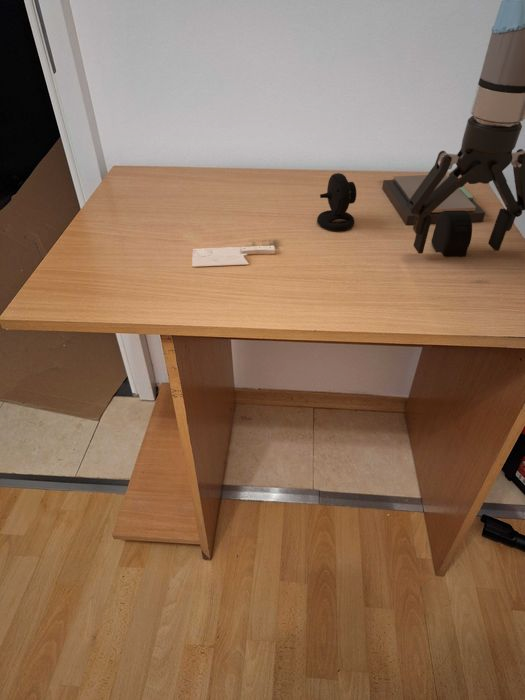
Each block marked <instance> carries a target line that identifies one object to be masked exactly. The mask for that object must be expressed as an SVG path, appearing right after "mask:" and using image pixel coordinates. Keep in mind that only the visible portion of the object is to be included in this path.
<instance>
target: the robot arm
mask: <svg viewBox="0 0 525 700" xmlns="http://www.w3.org/2000/svg"><path fill="white" fill-rule="evenodd" d="M480 72H481V73H480V75H479V79H478V83H477V86H476V89H475V92H474V97H473V101H472V103H471V106H470V115H471V116H470V117H469V118H468V119H467V121H466V126H465V129H464V133H463V136H462V139H461V140H462V141H461V147H460V150H459V151H458V152H457V154H455V153H447V152H446V150H441V151H439V153H438V154H437V157H436V160H435V163H434V165H433V167H431V169H430V171H429V172H428V174H426V175H427V176H426V178H425V179H424V180H423V182H422V183H421V185H420V186H419V187H418V189H417V190H416V192H415V193H414V194H413V196H412V197H411V198H410V200H409V201H408V203H407V207H408V209H409V210H410V212H411V213H412V214H416V217H415V221H414V225H412V229H413V231H414V233H415V238H414V242H413V247H414V249H415V251H416V252H417V253H418V254H419V255H420V254H423V253H424V250H425V247H426V242H427V238H428V235H429V230H430V227H431V224H430V223H431V219H432V218H431V217H430V215H429V214H430V213H431V212H432V211H433V210H434V209H436V208H437V207H438V206H439V205H440V204H441V203H442V202H443V201H444V200H446V199H447V198H448V197H449V196H450V195H451V194H452V193H453V192H454V191H456V190H457V189H458V188H461V187H465V185H466V184H469V185H476V184H479V183H480V184H484V185H485V184H487V185H489V184H490V182H493V184H494V187H495V189H496V191H497V193H498V194H499V196H500V198H501V200H502V202H503V204H504V206H505V208H499V211H498V214H497V217H496V220H495V223H494V225H493V228H492V231H491V234H490V237H489V239H488V242H487V243H488V245H489V246H490V248H492V249H493V251H495V252H499V251H500V249H501V247H502V244H503V241H504V238H505V236H506V233H507V232H510V231H511V230H512V228H513V225H514V223H515V220H516V218H519V217H521V216H522V215H523V211H525V150H524V149H523V148H519V149H517V150H516V151H515V152H513V151H514V150H515V148H516V147H517V142H518V140H519V137H520V134H521V131H522V129H523V125H522V122H523V121H524V120H525V0H501V1H500V5H499V7H498V10H497V15H496V16H495V20H494V23H493V25H492V27H491V33H490V37H489V41H488V44H487V49H486V53H485V56H484V61H483V64H482V68H481V71H480ZM455 164H456V167H455V168H454V169H453V170H452V168H453V166H454V165H455ZM509 165H512V171H513V178H514V186H515V194H516V198H515V196H514V194H513V191H512V190H511V188H510V186H509V184H508V181H507V178H506V176H505V174H504V172H503V171H504V170H506V168H508V167H509ZM449 170H452V171H451V172H450V173H449V174H448V176H447V173H448V171H449ZM445 175H446V176H447V177H448V178H447V179H446V180H445V181H444V182H443V183H442V184H440V185H439V186H438V184H439V183H440V182H441V180H442V179H443V178H444V176H445ZM437 186H438V187H437ZM436 187H437V188H436ZM435 188H436V189H435Z"/></svg>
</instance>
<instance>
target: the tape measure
mask: <svg viewBox="0 0 525 700" xmlns="http://www.w3.org/2000/svg"><path fill="white" fill-rule="evenodd" d="M472 237H473V222H472V221H471V217H470V214H469V213H468V212H467V211H464V210H456V211H443V212H441V213H440V215H439V217H438V219H437V222H436V224H435V226H434V230H433V233H432V237H431V241H430V242H431V245H432V247H433V249H434V251H435V252H436V253H441V255H442V256H443V257H444V258H448V257H462V258H464V257H467V252H468V248H469V247H470V244H471V242H472Z"/></svg>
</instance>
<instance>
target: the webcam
mask: <svg viewBox="0 0 525 700" xmlns="http://www.w3.org/2000/svg"><path fill="white" fill-rule="evenodd" d="M326 191H327V192H325V193H321V194H319V198H320V199H327V203H328V205H329V208H330V210H324V211H322V212H320V213H319V214H318V215H317V217H316V222H317V224H318V226H319V227H321V228H322V229H324V230H327V231H330V232H343V231H347V230H349V229H351V228H352V227H353V226H354V225H355V217H354V216H353V215H352V214H351V213H349V212H347V211H348V208H349V206H350V205H351V204H354V203H356V200H357V187H356V184H355V182H354V181H348V179H347V177H346V175H344V174H343V173H340V172H338V173H337V172H336V173H333V174H332V175H331V176H330V177H329V178H328V184H327V189H326ZM339 220H344V221H346V222H343V223H334V221H339Z"/></svg>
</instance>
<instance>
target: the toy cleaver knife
mask: <svg viewBox="0 0 525 700" xmlns="http://www.w3.org/2000/svg"><path fill="white" fill-rule="evenodd" d="M256 254H257V255H258V254H260V255H261V254H262V255H263V254H266V255H268V254H269V255H275V254H276V248H275V245H257V246H256V245H255V246H254V245H253V246H227V247H226V246H225V247H221V246H220V247H202V248H192V256H191V257H192V259H191V260H192V261H191V262H192V263H191V265H192V267H193V268H195V267H199V268H200V267H220V266H243V265H250V264H249V262H248V261H247V259H248V255H256Z"/></svg>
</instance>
